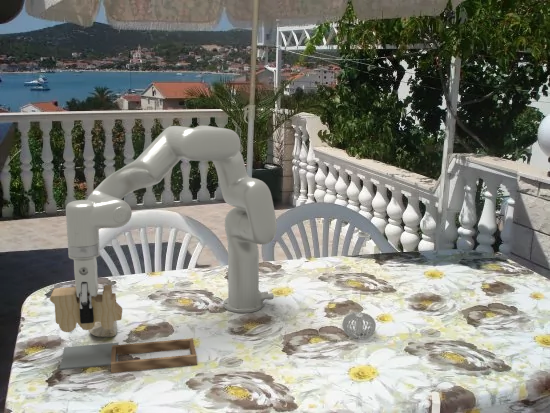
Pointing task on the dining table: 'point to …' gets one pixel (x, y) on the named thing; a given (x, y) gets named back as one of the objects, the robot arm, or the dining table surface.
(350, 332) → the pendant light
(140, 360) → the pocket frame
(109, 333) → the stone
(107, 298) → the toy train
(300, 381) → the dining table surface
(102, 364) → the slate mat
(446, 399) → the dining table surface
